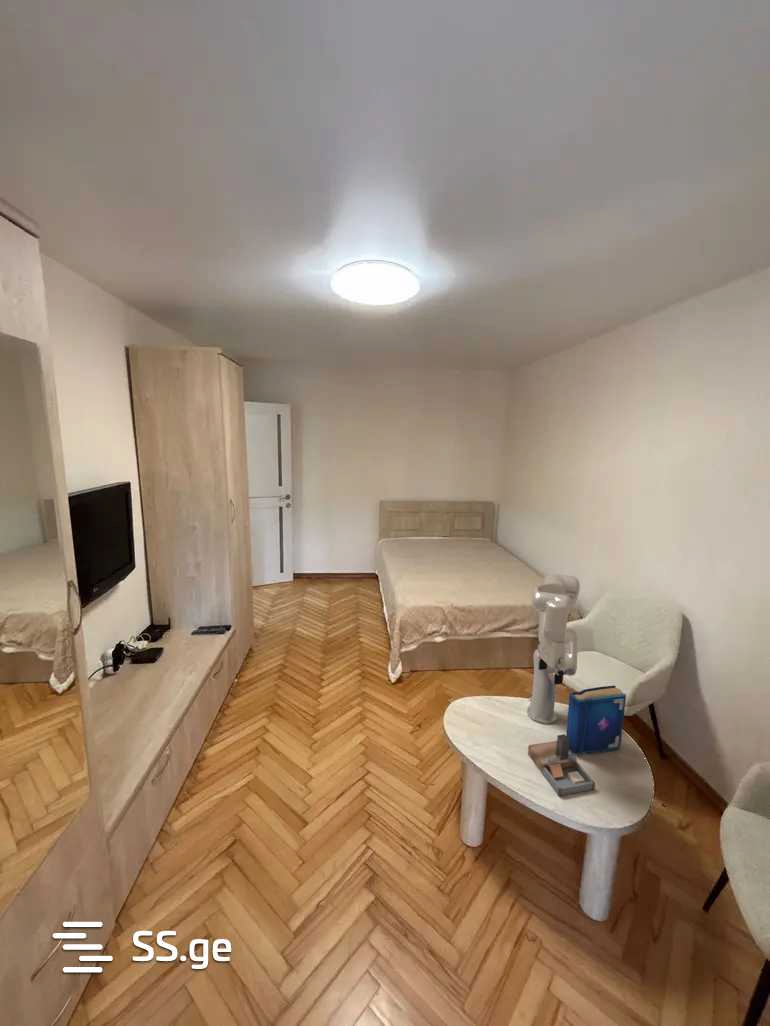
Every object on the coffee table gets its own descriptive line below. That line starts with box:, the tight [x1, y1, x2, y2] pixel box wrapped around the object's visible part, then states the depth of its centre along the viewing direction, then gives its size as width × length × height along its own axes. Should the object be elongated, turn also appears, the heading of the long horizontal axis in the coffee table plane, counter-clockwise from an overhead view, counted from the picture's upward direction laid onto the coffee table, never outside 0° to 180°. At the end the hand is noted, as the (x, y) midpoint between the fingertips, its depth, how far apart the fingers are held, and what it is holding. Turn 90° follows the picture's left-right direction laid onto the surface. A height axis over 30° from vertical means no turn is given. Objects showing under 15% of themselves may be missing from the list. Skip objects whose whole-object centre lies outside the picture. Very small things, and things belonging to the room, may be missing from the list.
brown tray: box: [527, 740, 578, 775], centre depth 161 cm, size 10×14×4 cm
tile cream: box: [567, 771, 585, 784], centre depth 152 cm, size 4×4×2 cm
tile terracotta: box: [549, 764, 563, 778], centre depth 154 cm, size 4×4×2 cm
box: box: [542, 761, 596, 797], centre depth 152 cm, size 10×14×3 cm
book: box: [565, 685, 627, 755], centre depth 167 cm, size 22×7×25 cm, turn 101°
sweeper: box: [546, 734, 578, 766], centre depth 155 cm, size 3×12×10 cm, turn 103°
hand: (550, 676), depth 158 cm, fingers open, 9 cm apart
